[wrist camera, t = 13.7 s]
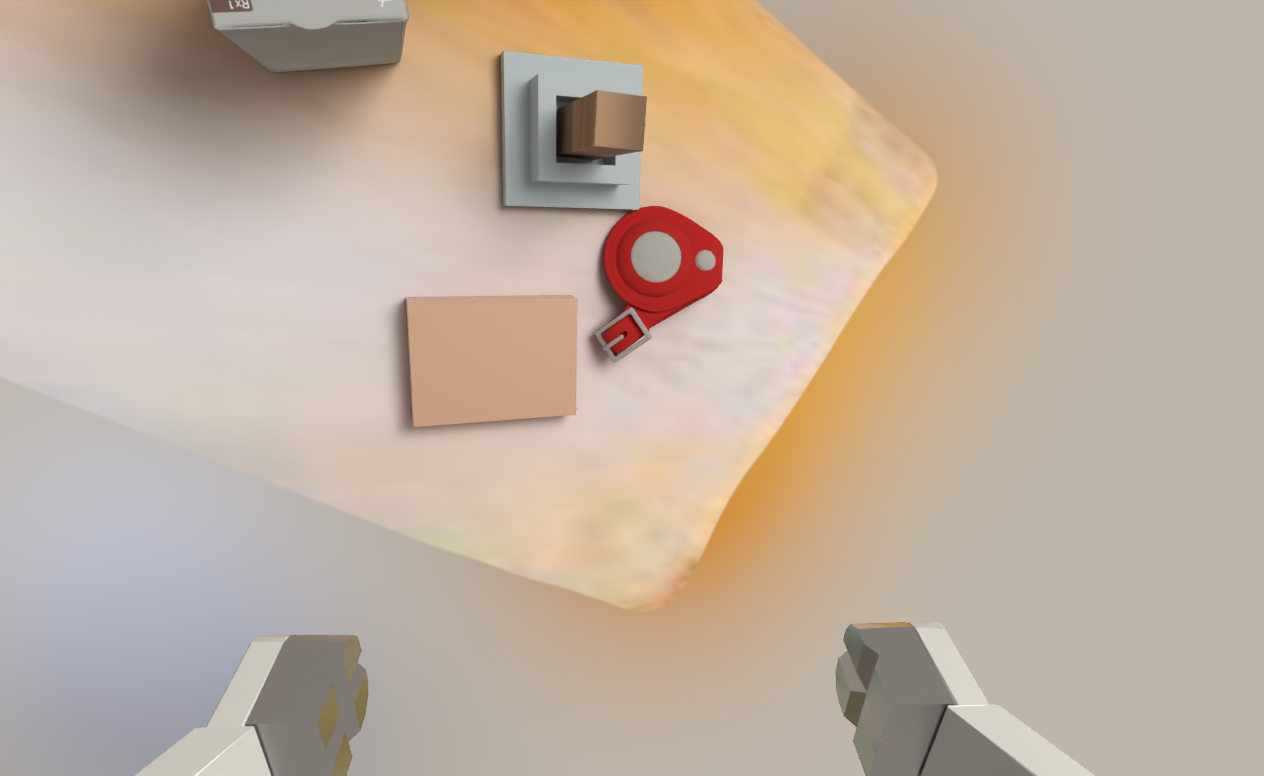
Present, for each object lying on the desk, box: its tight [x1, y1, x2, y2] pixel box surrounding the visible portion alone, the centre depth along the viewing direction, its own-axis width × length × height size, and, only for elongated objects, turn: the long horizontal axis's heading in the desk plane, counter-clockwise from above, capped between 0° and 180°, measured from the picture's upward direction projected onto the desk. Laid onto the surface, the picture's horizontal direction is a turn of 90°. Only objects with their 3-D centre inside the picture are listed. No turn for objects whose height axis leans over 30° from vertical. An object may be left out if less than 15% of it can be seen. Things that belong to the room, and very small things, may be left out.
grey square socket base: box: [501, 51, 643, 210], centre depth 48 cm, size 10×10×4 cm
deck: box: [406, 295, 577, 427], centre depth 51 cm, size 12×9×2 cm
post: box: [556, 90, 647, 160], centre depth 45 cm, size 3×3×10 cm
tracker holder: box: [595, 206, 723, 362], centre depth 54 cm, size 12×4×10 cm
